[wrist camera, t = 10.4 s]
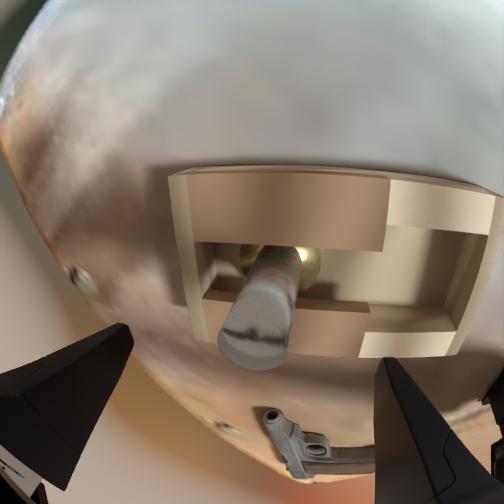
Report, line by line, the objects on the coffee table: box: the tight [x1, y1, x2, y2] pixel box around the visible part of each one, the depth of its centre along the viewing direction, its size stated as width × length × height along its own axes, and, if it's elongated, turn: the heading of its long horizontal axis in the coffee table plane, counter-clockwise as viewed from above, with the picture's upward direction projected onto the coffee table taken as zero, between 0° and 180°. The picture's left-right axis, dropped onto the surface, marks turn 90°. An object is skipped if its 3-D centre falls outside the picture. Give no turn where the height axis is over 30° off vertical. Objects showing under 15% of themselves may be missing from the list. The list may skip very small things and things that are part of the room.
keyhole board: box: [168, 165, 504, 358], centre depth 14 cm, size 17×10×3 cm, turn 92°
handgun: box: [260, 409, 375, 479], centre depth 23 cm, size 3×16×12 cm
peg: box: [217, 244, 321, 371], centre depth 12 cm, size 4×4×8 cm
